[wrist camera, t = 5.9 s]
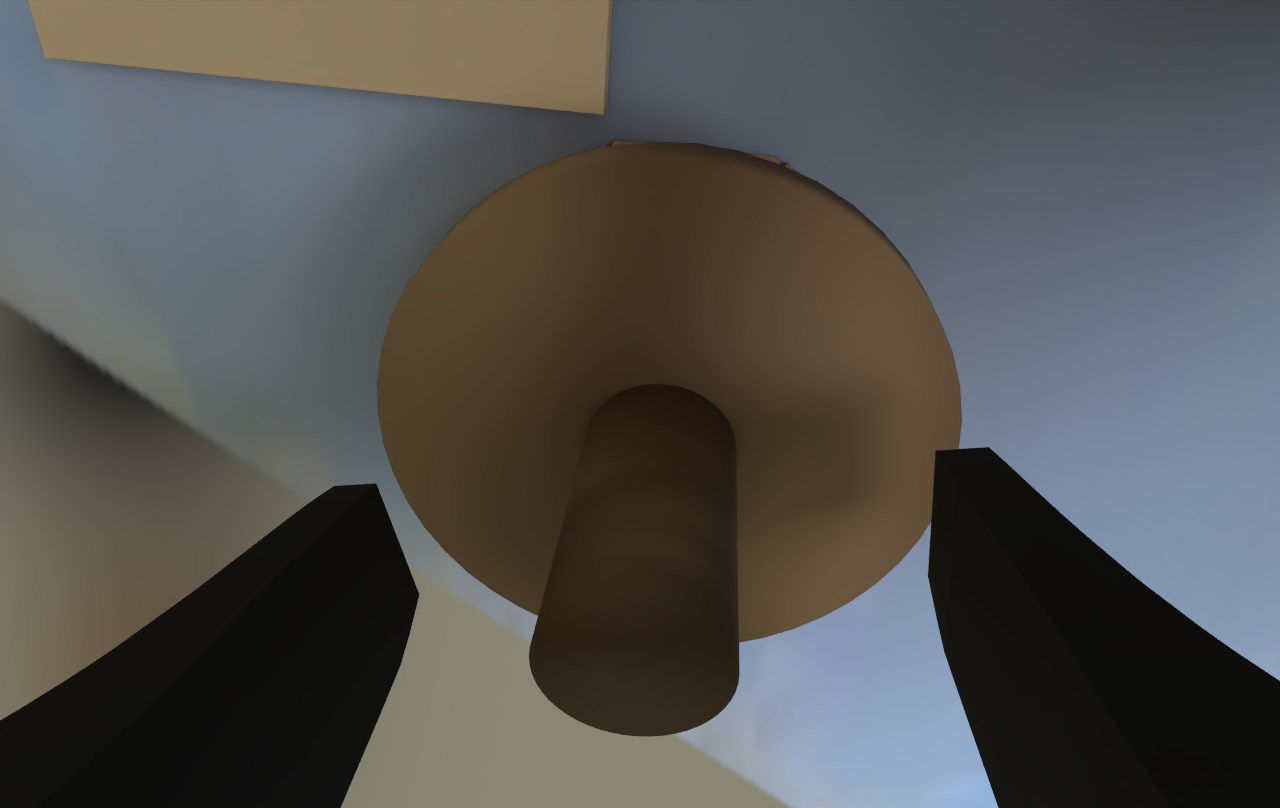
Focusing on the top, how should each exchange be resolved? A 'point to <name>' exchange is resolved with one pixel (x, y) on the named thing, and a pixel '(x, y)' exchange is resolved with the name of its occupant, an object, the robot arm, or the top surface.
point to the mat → (355, 44)
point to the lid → (666, 415)
